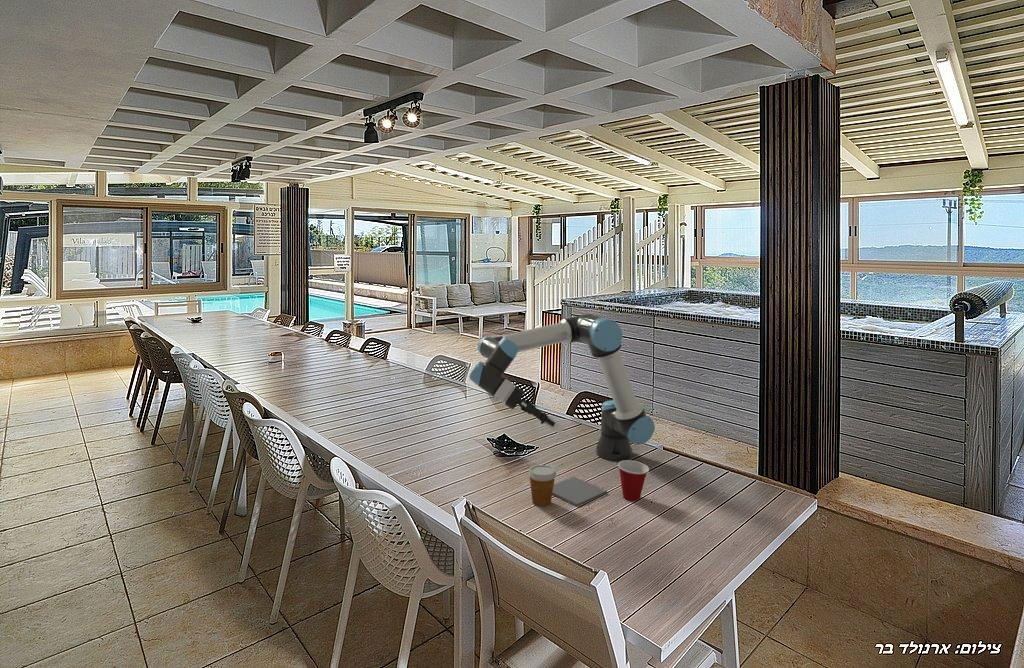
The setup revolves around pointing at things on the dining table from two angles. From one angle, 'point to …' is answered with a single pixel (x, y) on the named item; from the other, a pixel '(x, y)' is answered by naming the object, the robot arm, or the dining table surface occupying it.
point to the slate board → (577, 491)
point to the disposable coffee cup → (542, 484)
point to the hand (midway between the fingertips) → (560, 429)
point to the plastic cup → (632, 478)
